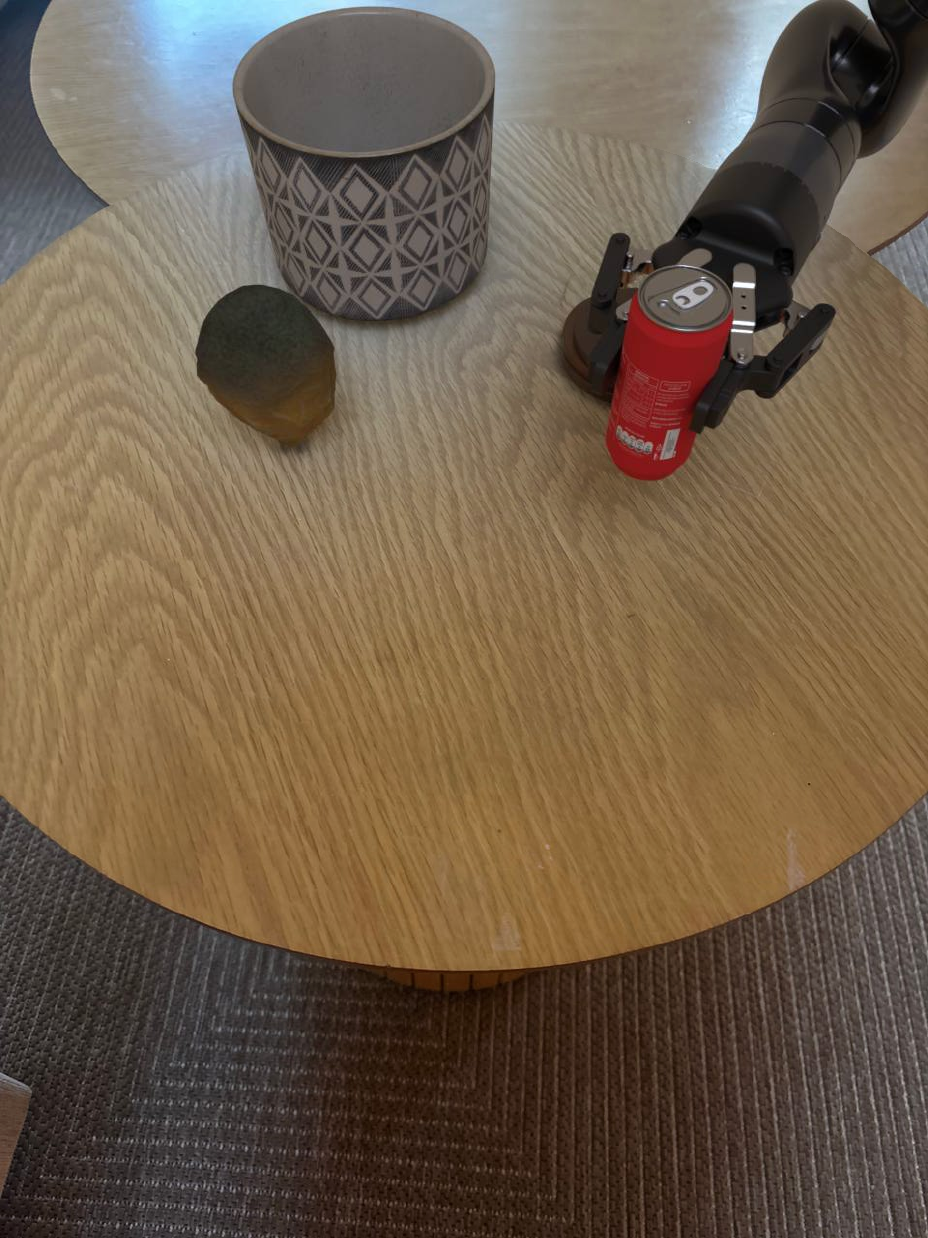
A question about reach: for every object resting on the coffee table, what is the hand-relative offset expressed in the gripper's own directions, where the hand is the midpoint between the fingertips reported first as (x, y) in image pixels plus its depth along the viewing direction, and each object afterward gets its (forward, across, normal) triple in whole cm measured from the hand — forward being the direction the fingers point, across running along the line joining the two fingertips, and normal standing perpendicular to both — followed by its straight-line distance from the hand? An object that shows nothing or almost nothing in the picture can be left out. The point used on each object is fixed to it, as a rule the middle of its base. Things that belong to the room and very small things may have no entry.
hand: (647, 401), depth 47 cm
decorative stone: (+1, -26, +18) cm, 32 cm away
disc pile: (-20, -7, +18) cm, 28 cm away
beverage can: (-3, 0, +7) cm, 8 cm away
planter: (-20, -31, +18) cm, 41 cm away
